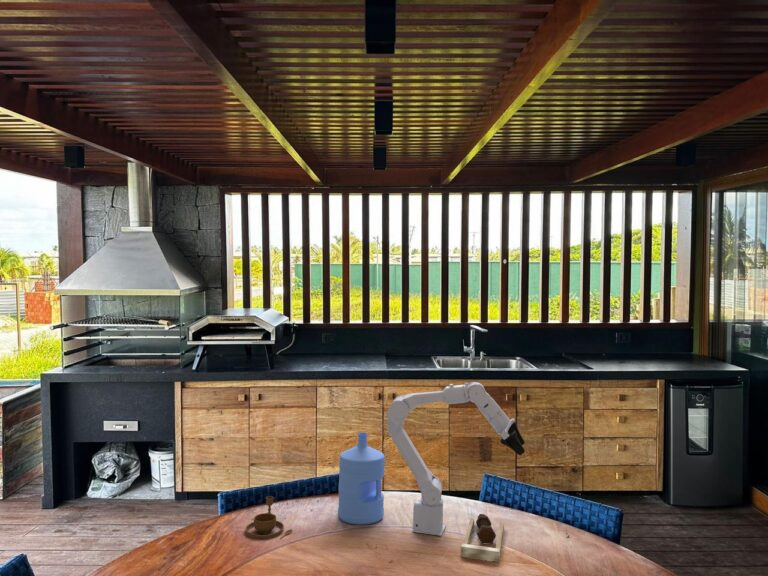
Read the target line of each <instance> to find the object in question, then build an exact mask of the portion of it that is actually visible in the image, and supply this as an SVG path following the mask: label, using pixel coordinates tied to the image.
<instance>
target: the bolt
mask: <svg viewBox="0 0 768 576" xmlns="http://www.w3.org/2000/svg"><path fill="white" fill-rule="evenodd" d="M475 524H476V526H477V528H478V531H477V532H476V536H477V538H478V540H479V542H480V543H481V544H483V543H492V544H493V543H494V541H495V539H496V537H497V534H496V532H495V530H494V529H493V527H492V521H491V520H490V518H489V516H488V515H486V514H484V513H479V514H478V516H477V519H476V521H475Z"/></svg>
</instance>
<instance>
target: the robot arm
mask: <svg viewBox="0 0 768 576" xmlns="http://www.w3.org/2000/svg"><path fill="white" fill-rule="evenodd" d="M440 402H445V403H446V404H448V405H456V404H464V403H466V404H467V403H468V402H471V403H473V404H475V406H476V407H477V408H478V410H479V411H480V413H481V414H482V416H484V418H485V419H486V420H487V422H488V423H489V424H490V425H491V427H492V428H493V429H494V430H495V433H496V434H497V435H498V436H500V437H501V439H499V440H500V443H501V444H502V445H504V446H506V447H508V448H510V449H511V450H512V451H514V452H515V453H516V454H517V455H519V456H521V455H523V454H524V453H525V452H526V451H525V448H524V447H523V446H524V445H525V443H526V442H525V440H524V438H523V436H522V434H521V433H520V430H519V428H518V425H517V421H516V419H515V418H514V417H513V418H511V419H510V418H509V417H508V415H507V414H506V413H505V411H503V409H502V408H501V407H500V405H499V404H498V403H497V402H496V400H495V399H494V398H493V397H492V396H491V395H490V394H489V393H488V392H487V391H486V389H485V387H484V385H483V384H482V383H481V382H478V381H472V382H465V383H464V384H458V385H454V384H453V383H449V384H448V386H445V387H444V389H443V390H439V391H438V390H437V391H425V392H423V391H422V392H414V393H412V392H411V393H407V394H404V395H397V396H396V397H395V398H394V399H393V401H392V402H391V403H390V405H389V407H388V410H387V412H386V415H387V422H386V423H387V424H386V425H387V427H386V428H387V432H388V435H389V437H390V438H391V440H392V441H393V443H394V445H395V446H396V448H397V450H398V451H399V453H400V455H401V456H402V458H403V460H404V461H405V463H406V465H407V466H408V468H409V470H410V471H411V473H412V475H413V476H414V478H415V480H416V483H417V487H418V488H419V490H420V493H421V498H420V499H415V501H414V502H413V503H414V504H413V510H412V511H413V512H412V514H413V515H412V533H417V534H418V533H419V534H425V535H426V534H427V535H432V536H439V537H440V536H441V537H442V536H443V533H444V531H445V528H446V524H445V523H444V500H443V499H442V490H443V483H442V481H441V480H440V479H439V478H438V477H436V476H435V475H434V474H433V472H432V471H431V470H430V469H429V468H428V466H427V465H426V463H425V461H424V460H423V458H422V456H421V455H420V453H419V452H418V450H417V448H416V447H415V444H414V443H413V442H412V440H411V439H410V437H409V435H408V433H407V432H406V430H405V429H404V425H405V422H406V418H407V417H408V414H409V413H410V411H411V412H413V410H415V409H416V408H417V407H419V406H420V405H427V404H431V403H440ZM443 523H444V524H443Z"/></svg>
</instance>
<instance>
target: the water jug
mask: <svg viewBox="0 0 768 576" xmlns="http://www.w3.org/2000/svg"><path fill="white" fill-rule="evenodd" d="M357 435H358V436H357V437H358V438H357V445H356V446H352V447H351V448H349V449H347V450H345V451H342V452H341V453H340V455H339V460H338V462H339V463H338V468H339V471H338V473H339V474H338V476H339V477H338V509H337V515H338V518H339V519H340V520H341V521H342V522H344V523H347V524H352V525H358V526H359V525H360V526H361V525H370V524H374V523H377V522H379V521H381V520H382V519H383V517H384V515H385V507H384V506H385V502H384V501H385V497H384V493H383V492H382V482H383V481H382V480H383V478H384V476H385V467H386V466H385V465H386V460H385V454H384V453H383V452H382V451H379V450H378V449H375V448H373V447H371V446H368V433H367V432H358V433H357Z"/></svg>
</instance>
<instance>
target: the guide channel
mask: <svg viewBox="0 0 768 576" xmlns="http://www.w3.org/2000/svg"><path fill="white" fill-rule="evenodd" d="M474 527H475V518H472V517H470V520H469V523H468V526H467V529H466V532H465V535H464V538H463V542H462V543H461V545H460V557H461V558H465V557H466V559H472V558H474V560H479V559H480V560H481V561H485V560H487V561H486V562H492V561H496V562H495V563H499V562H500V557H501V551H500V550H502V549H501V548H502V544H503V543H502V542H503V538H504V537H503V536H504V530H505V522H504V521H499V527H498V533H497V536H496V537H497V539H496V544H495V547H491V546H490V547H489V546H482V545H475V544H470V541H471V538H472V533H473V531H474ZM470 537H471V538H470Z"/></svg>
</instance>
